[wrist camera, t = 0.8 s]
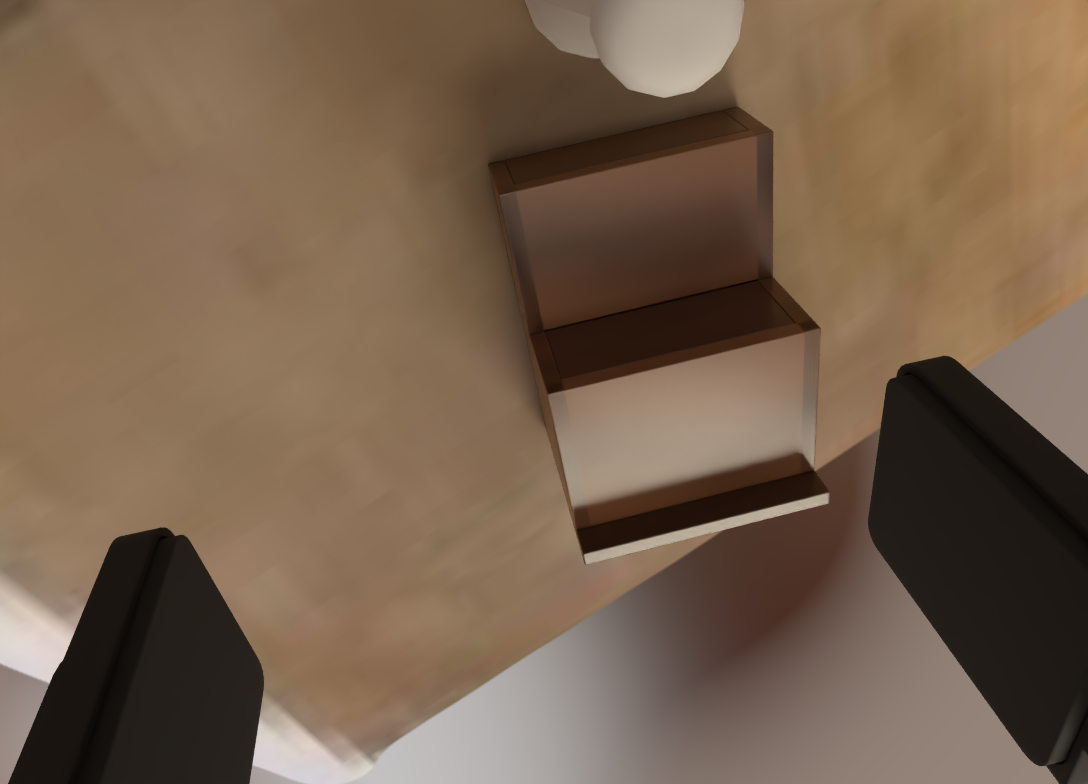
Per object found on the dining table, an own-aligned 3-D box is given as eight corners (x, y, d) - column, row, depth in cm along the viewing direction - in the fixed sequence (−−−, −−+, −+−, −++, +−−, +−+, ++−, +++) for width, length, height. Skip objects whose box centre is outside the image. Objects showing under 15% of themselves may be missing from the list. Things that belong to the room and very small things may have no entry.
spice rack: (487, 163, 36) (521, 262, 27) (738, 106, 36) (849, 184, 28) (546, 430, 45) (585, 565, 36) (744, 381, 46) (829, 503, 37)
